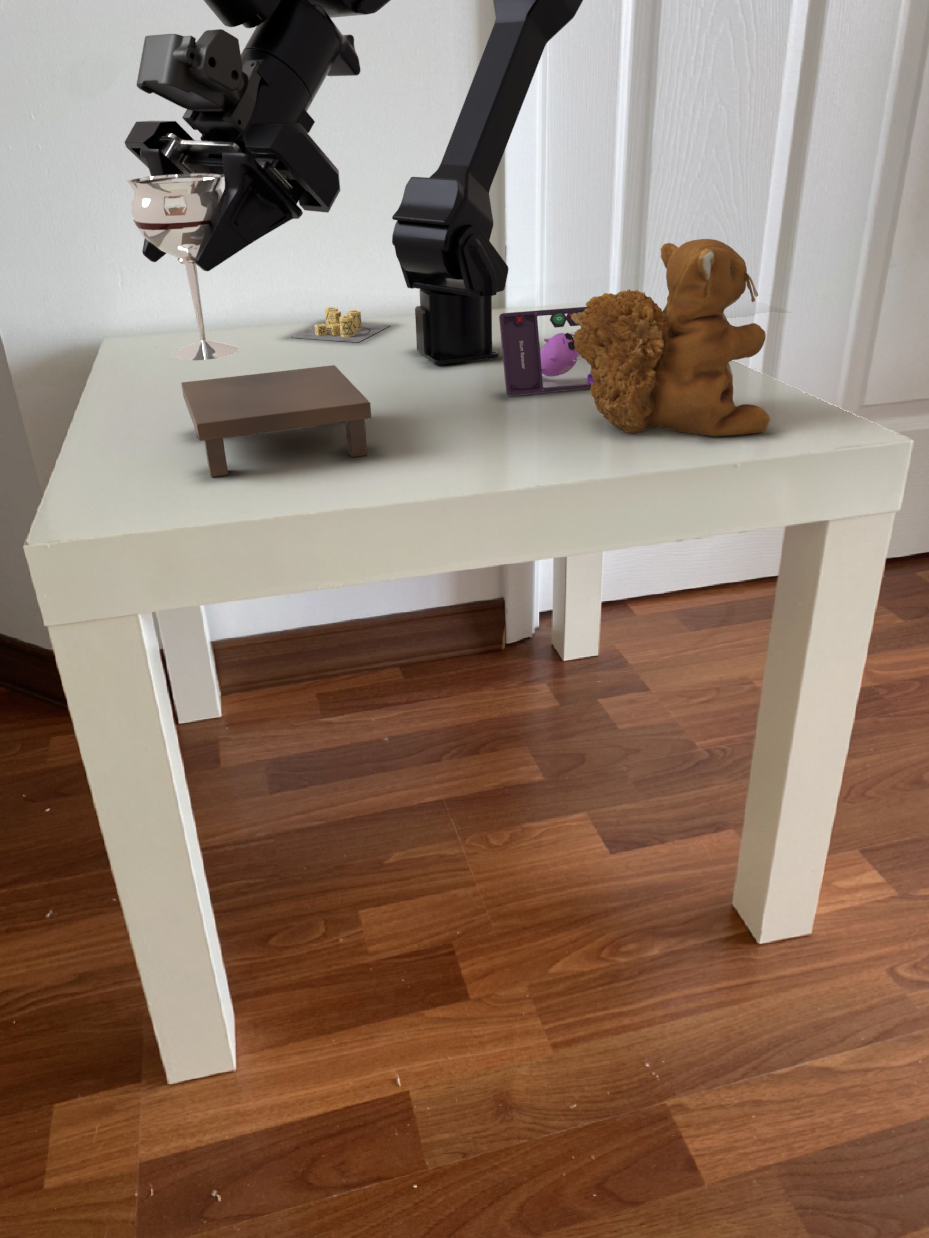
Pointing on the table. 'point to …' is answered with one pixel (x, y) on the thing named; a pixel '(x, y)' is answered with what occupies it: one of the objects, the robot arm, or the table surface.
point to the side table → (274, 407)
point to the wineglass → (181, 235)
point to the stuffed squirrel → (674, 347)
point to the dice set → (341, 327)
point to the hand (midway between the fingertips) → (173, 262)
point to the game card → (537, 351)
